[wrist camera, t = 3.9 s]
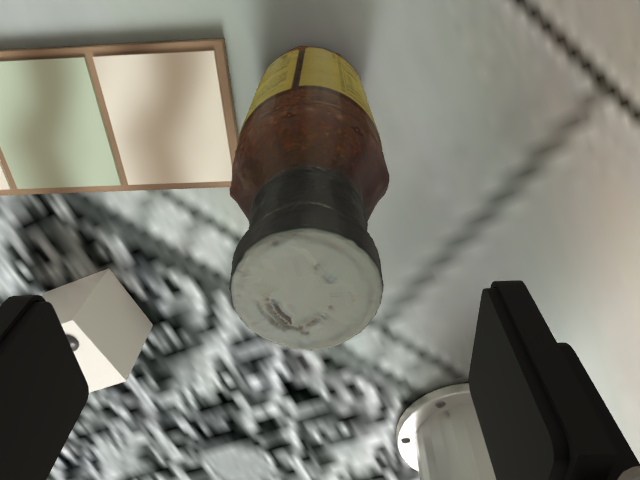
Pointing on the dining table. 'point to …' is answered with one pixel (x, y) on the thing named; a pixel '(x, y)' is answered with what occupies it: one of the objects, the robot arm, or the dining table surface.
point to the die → (101, 327)
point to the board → (116, 117)
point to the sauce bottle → (308, 204)
